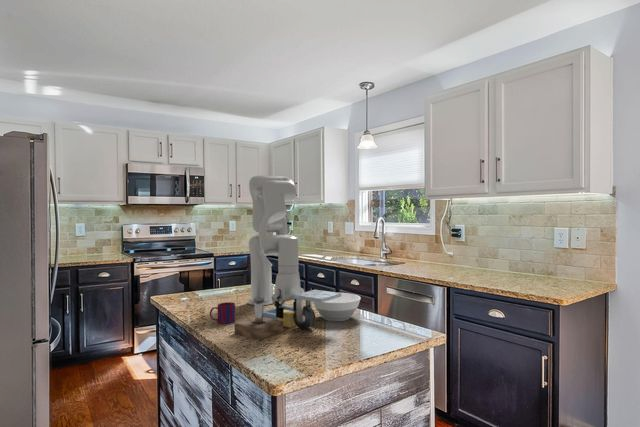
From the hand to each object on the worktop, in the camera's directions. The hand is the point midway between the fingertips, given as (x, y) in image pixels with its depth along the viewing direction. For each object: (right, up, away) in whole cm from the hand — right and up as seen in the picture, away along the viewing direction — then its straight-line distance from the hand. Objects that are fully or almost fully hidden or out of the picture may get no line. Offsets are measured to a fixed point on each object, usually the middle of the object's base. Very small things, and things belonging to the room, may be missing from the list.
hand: (288, 315), depth 153 cm
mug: (-26, -4, +4) cm, 27 cm away
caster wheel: (+10, -4, -6) cm, 12 cm away
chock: (-1, -4, 0) cm, 4 cm away
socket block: (-10, -4, -9) cm, 14 cm away
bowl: (+18, -4, +10) cm, 21 cm away
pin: (-10, -4, -9) cm, 14 cm away
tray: (-3, -4, +12) cm, 13 cm away
